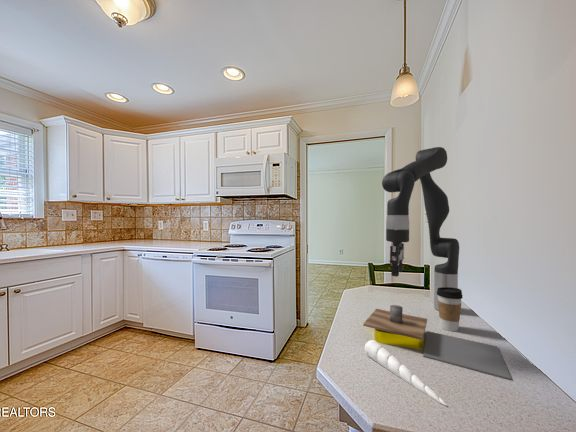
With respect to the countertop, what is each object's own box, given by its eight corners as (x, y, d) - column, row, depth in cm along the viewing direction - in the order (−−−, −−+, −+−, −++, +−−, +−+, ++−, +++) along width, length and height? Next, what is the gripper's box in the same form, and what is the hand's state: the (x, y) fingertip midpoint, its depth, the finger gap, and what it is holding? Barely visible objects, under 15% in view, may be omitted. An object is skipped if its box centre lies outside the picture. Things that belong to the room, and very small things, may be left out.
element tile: (424, 351, 79) (425, 336, 79) (374, 343, 84) (374, 329, 84) (416, 331, 93) (416, 318, 93) (373, 325, 98) (374, 313, 98)
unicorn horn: (434, 413, 53) (435, 390, 53) (362, 356, 75) (363, 340, 76) (450, 407, 55) (450, 385, 55) (375, 353, 77) (375, 337, 77)
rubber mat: (426, 332, 92) (426, 330, 92) (497, 347, 82) (497, 346, 82) (423, 356, 75) (423, 355, 75) (511, 380, 65) (511, 378, 65)
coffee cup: (466, 334, 91) (467, 292, 91) (441, 331, 93) (441, 290, 93) (456, 324, 99) (456, 286, 100) (432, 322, 101) (433, 285, 101)
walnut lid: (376, 310, 101) (376, 296, 101) (427, 320, 91) (427, 305, 92) (363, 325, 86) (363, 308, 86) (422, 340, 76) (422, 321, 77)
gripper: (389, 227, 97) (389, 269, 97) (382, 228, 85) (381, 276, 85) (411, 228, 93) (411, 271, 93) (406, 229, 81) (406, 279, 81)
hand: (397, 273), depth 89 cm, fingers open, 8 cm apart
